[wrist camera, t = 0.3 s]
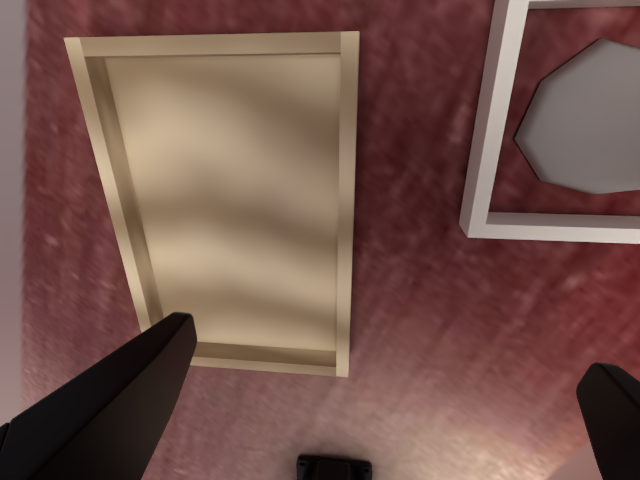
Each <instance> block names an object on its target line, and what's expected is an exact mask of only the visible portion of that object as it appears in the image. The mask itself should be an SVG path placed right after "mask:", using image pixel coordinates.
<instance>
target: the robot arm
mask: <svg viewBox="0 0 640 480" xmlns="http://www.w3.org/2000/svg"><path fill="white" fill-rule="evenodd" d="M196 345H197V334H196V328H195V323H194V318H193V316H192V314H190V313H185V312H173V313H171V314H169V315H168V316H166V317H165V318H163V319H162V320H160V321H159V322H157V323H156V324H154V325H153V326H151V327H150V328H148V329H147V330H145V331H144V332H142V333H141V334H139V335H138V336H136V337H135V338H133V339H132V340H130V341H129V342H127V343H126V344H124V345H123V346H121V347H120V348H118V349H117V350H115V351H114V352H112V353H111V354H109V355H108V356H106V357H105V358H103V359H102V360H100V361H99V362H97V363H96V364H94V365H93V366H91V367H90V368H88V369H87V370H85V371H84V372H82V373H81V374H79V375H78V376H76V377H75V378H73V379H72V380H70V381H69V382H67V383H66V384H64V385H63V386H61V387H60V388H58V389H57V390H55V391H54V392H52V393H51V394H49V395H48V396H46V397H45V398H43V399H42V400H40V401H39V402H37V403H36V404H34V405H33V406H31V407H29V408H28V409H26V410H25V411H23V412H22V413H20V414H19V415H17V416H16V417H15V418H13V419H12V420H11V422H10V423H5V424H4V425H2V426H1V427H0V480H141V478H142V476H143V474H144V472H145V469H146V467H147V465H148V463H149V461H150V459H151V457H152V455H153V453H154V451H155V448H156V446H157V444H158V442H159V440H160V438H161V436H162V434H163V432H164V430H165V427H166V425H167V423H168V421H169V419H170V417H171V415H172V412H173V410H174V408H175V405H176V402H177V400H178V397H179V394H180V391H181V389H182V386H183V383H184V380H185V377H186V374H187V372H188V369H189V366H190V363H191V360H192V357H193V355H194V352H195V349H196ZM576 394H577V399H578V402H579V406H580V409H581V412H582V416H583V419H584V422H585V426H586V429H587V432H588V436H589V439H590V442H591V446H592V449H593V452H594V456H595V459H596V462H597V465H598V468H599V471H600V473H601V476H602V478H603V480H640V382H639V381H638V380H637V379H635V378H634V377H633V376H631V375H630V374H628V373H627V372H626V371H624V370H623V369H622V368H620V367H619V366H617V365H614V364H606V363H598V362H597V363H594V364H592V365H591V366H590V367H589V369H588V370H587V372H586V373H585V375H584V376H583V377H582V379H581V380H580V382H579V383H578V385H577V389H576ZM296 465H297V480H372V465H371V464H370V463H367V462H358V461H348V460H338V459H328V458H318V457H308V456H299V457H298V458H297V463H296Z"/></svg>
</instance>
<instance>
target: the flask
mask: <svg viewBox="0 0 640 480" xmlns="http://www.w3.org/2000/svg"><path fill="white" fill-rule="evenodd" d="M514 140H515V141H516V143H517V144H518V146H519V148H520V149H521V151H522V152H523V154H524V156H525V157H526V159H527V160H528V162H529V163H530V165H531V167H532V168H533V170H534V171H535V173H536V175H537V176H538V178H539V179H540V181H542V182H546V183H550V184H554V185H558V186H561V187H565V188H569V189H573V190H577V191H581V192H584V193H588V194H603V193H612V192H621V191H630V190H640V48H638V47H634V46H630V45H626V44H622V43H618V42H614V41H610V40H607V39H603V38H600V39H599V40H597V41H596V42H595V43H593V44H592V45H590V46H589V47H588V48H586V49H585V50H584V51H582V52H581V53H579V54H578V55H577V56H575V57H574V58H572V59H571V60H570V61H568V62H567V63H565V64H564V65H563V66H561V67H560V68H559V69H557V70H556V71H554V72H553V73H552V74H550V75H549V76H547V77H546V78H545V79H543V80H542V81H541V82H540V84H539V86H538V89H537V91H536V93H535V95H534V97H533V99H532V102H531V104H530V106H529V108H528V110H527V113H526V115H525V117H524V119H523V121H522V123H521V126H520V128H519V130H518V132H517V134H516V136H515V139H514Z"/></svg>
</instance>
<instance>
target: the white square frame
mask: <svg viewBox="0 0 640 480" xmlns="http://www.w3.org/2000/svg"><path fill="white" fill-rule="evenodd" d="M620 6H640V0H495V3H494V9H493V15H492V22H491V28H490V34H489V40H488V46H487V52H486V58H485V65H484V71H483V77H482V83H481V89H480V95H479V102H478V108H477V114H476V120H475V126H474V132H473V139H472V145H471V151H470V157H469V163H468V169H467V176H466V182H465V188H464V194H463V200H462V206H461V213H460V219H459V225H460V227H461V228H462V230H463V231H464V233H465V234H466V236H467V238H494V239H522V240H550V241H578V242H606V243H634V244H640V216H610V215H575V214H540V213H505V212H488V209H489V204H490V199H491V194H492V189H493V184H494V179H495V173H496V168H497V163H498V158H499V153H500V148H501V143H502V138H503V133H504V127H505V122H506V117H507V112H508V107H509V102H510V97H511V92H512V87H513V81H514V76H515V71H516V66H517V61H518V56H519V51H520V46H521V41H522V35H523V30H524V25H525V20H526V15H527V10H528V9H548V8H584V7H620Z"/></svg>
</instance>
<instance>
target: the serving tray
mask: <svg viewBox="0 0 640 480" xmlns="http://www.w3.org/2000/svg"><path fill="white" fill-rule="evenodd" d="M64 41H65V45H66V48H67V52H68V56H69V60H70V64H71V67H72V71H73V75H74V79H75V82H76V86H77V90H78V94H79V98H80V101H81V105H82V109H83V113H84V116H85V120H86V124H87V128H88V132H89V135H90V139H91V143H92V147H93V151H94V154H95V158H96V162H97V166H98V169H99V173H100V177H101V181H102V185H103V188H104V192H105V196H106V200H107V203H108V207H109V211H110V215H111V219H112V222H113V226H114V230H115V234H116V238H117V241H118V245H119V249H120V253H121V256H122V260H123V264H124V268H125V272H126V275H127V279H128V283H129V287H130V290H131V294H132V298H133V302H134V306H135V309H136V313H137V317H138V321H139V325H140V328H141V332H144V331H145V330H147V329H148V328H150V327H151V326H153V325H154V324H156V323H157V322H159V321H160V320H162V319H163V318H165V317H166V316H168V315H169V314H171V313H173V312H185V313H190V314H192V316H193V318H194V323H195V328H196V334H197V345H196V349H195V352H194V355H193V357H192V360H191V363H190V365H195V366H208V367H221V368H234V369H247V370H260V371H273V372H285V373H298V374H311V375H324V376H337V377H348V371H349V351H350V321H351V290H352V260H353V229H354V199H355V168H356V138H357V107H358V76H359V46H360V34H359V31H345V32H301V33H257V34H212V35H168V36H124V37H80V38H64Z"/></svg>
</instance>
